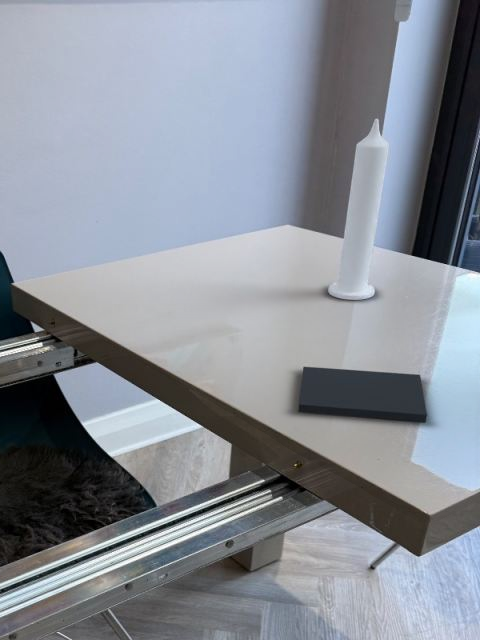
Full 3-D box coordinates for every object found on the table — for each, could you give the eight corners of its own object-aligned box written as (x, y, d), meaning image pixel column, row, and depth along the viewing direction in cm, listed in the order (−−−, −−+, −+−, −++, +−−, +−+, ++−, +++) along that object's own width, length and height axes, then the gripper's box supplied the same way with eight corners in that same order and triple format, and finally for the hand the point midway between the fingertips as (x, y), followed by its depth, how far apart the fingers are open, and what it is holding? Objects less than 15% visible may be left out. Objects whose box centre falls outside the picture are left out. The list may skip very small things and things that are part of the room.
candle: (353, 282, 128) (378, 113, 114) (384, 295, 123) (414, 118, 109) (318, 290, 126) (340, 118, 112) (348, 303, 121) (374, 124, 107)
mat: (418, 381, 97) (420, 374, 96) (425, 422, 88) (427, 414, 88) (302, 373, 100) (303, 366, 100) (298, 412, 91) (299, 404, 91)
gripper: (451, -121, 88) (426, 23, 96) (447, -108, 104) (426, 15, 112) (392, -117, 90) (373, 24, 98) (397, -105, 106) (380, 16, 114)
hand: (401, 19), depth 105 cm, fingers open, 8 cm apart
